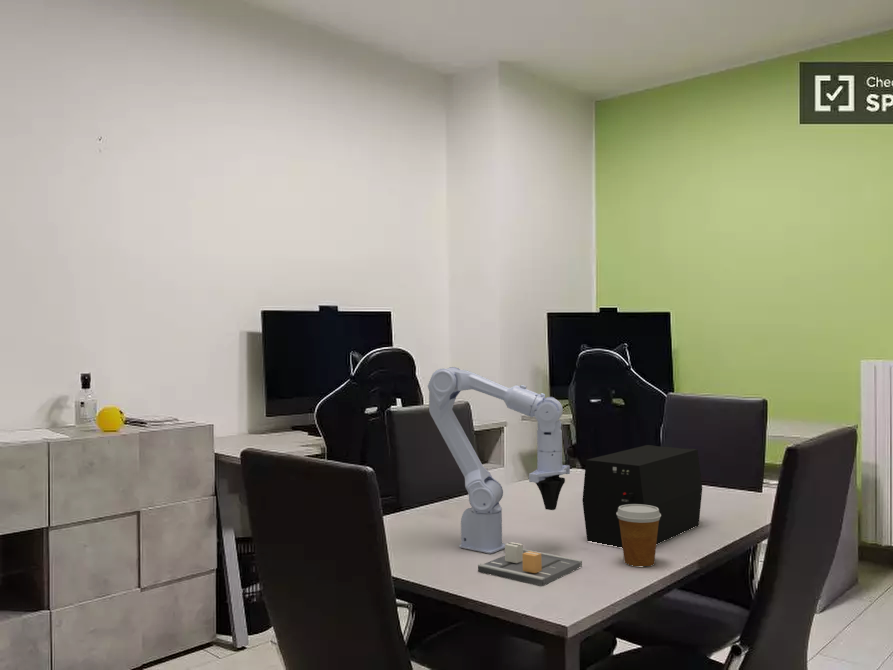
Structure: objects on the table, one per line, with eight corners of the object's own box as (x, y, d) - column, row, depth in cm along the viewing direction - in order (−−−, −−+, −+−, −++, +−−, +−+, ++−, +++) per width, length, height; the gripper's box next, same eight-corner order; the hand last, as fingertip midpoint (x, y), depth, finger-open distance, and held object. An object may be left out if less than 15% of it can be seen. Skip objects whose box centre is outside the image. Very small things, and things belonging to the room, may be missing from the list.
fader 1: (505, 560, 166) (504, 544, 166) (511, 558, 168) (511, 541, 168) (516, 563, 164) (516, 546, 164) (523, 560, 166) (522, 543, 166)
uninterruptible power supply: (703, 526, 200) (701, 449, 200) (641, 555, 175) (640, 466, 175) (645, 517, 211) (643, 444, 211) (579, 543, 186) (578, 460, 186)
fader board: (478, 571, 164) (477, 564, 164) (520, 554, 176) (520, 548, 176) (542, 586, 154) (541, 578, 154) (582, 567, 166) (582, 560, 166)
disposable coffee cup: (608, 563, 168) (607, 508, 168) (632, 554, 175) (631, 501, 175) (647, 572, 161) (646, 515, 162) (670, 562, 168) (669, 507, 168)
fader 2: (522, 570, 159) (522, 553, 159) (529, 567, 161) (529, 550, 161) (534, 573, 157) (534, 555, 157) (541, 570, 159) (541, 552, 159)
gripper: (547, 455, 170) (548, 517, 170) (580, 448, 181) (581, 505, 181) (521, 453, 174) (521, 513, 174) (554, 445, 186) (555, 502, 185)
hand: (550, 509), depth 178 cm, fingers closed
